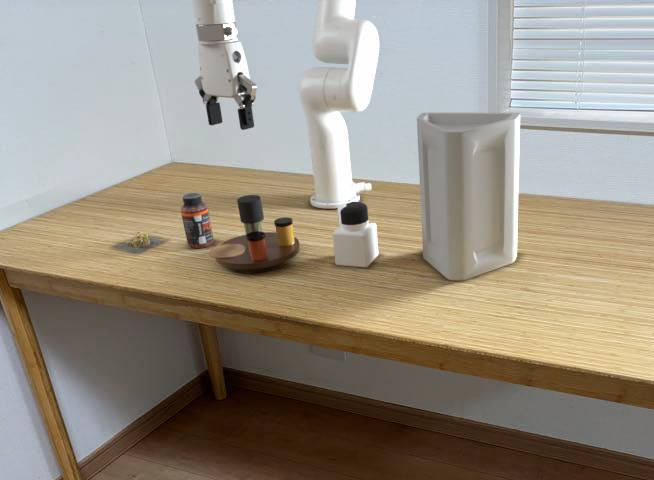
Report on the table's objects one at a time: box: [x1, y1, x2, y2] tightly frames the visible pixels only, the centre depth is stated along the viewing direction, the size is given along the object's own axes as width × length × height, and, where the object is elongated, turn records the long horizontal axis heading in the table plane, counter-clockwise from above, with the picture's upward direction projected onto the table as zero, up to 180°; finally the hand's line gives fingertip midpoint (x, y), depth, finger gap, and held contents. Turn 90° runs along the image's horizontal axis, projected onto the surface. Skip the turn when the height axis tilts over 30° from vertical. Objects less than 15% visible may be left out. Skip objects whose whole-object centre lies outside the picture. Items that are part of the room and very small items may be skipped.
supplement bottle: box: [180, 192, 215, 249], centre depth 172 cm, size 6×6×11 cm
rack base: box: [231, 261, 288, 273], centre depth 165 cm, size 13×13×2 cm
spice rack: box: [208, 194, 301, 269], centre depth 161 cm, size 19×18×12 cm
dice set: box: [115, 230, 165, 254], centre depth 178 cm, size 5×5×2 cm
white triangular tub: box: [416, 112, 521, 282], centre depth 148 cm, size 19×15×28 cm
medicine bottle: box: [331, 201, 380, 268], centre depth 158 cm, size 7×7×12 cm
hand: (231, 126), depth 157 cm, fingers open, 9 cm apart
